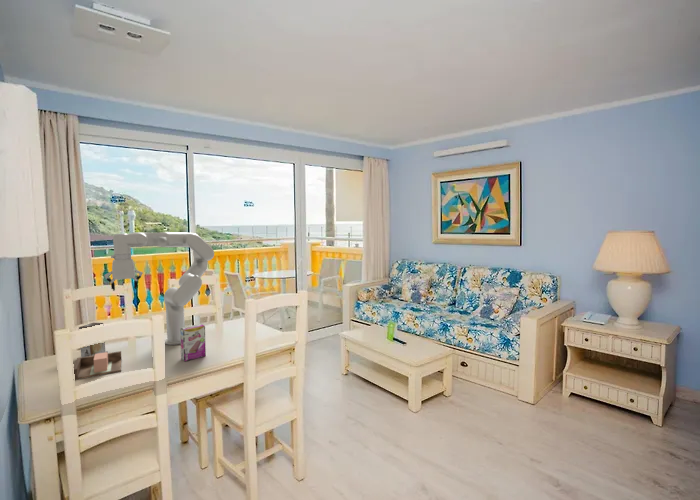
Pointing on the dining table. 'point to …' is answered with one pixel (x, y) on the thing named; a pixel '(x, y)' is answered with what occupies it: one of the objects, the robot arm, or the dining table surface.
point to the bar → (101, 361)
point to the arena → (86, 365)
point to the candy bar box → (192, 342)
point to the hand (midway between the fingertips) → (124, 289)
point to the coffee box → (92, 348)
